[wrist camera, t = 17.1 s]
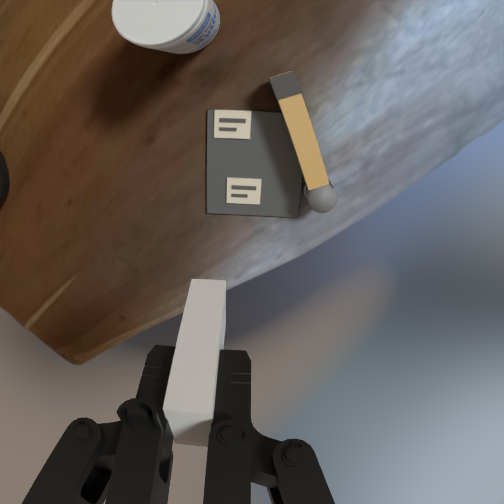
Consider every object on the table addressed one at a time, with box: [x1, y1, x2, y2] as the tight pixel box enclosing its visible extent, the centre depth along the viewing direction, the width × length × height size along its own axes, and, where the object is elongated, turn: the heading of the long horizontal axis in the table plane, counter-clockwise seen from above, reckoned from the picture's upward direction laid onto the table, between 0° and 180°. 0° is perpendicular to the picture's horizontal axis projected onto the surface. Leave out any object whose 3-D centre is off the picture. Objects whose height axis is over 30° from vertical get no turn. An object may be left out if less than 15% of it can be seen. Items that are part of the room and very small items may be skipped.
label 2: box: [227, 177, 262, 205], centre depth 48 cm, size 5×4×1 cm
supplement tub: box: [112, 0, 220, 54], centre depth 28 cm, size 10×10×15 cm
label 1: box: [214, 110, 251, 139], centre depth 42 cm, size 5×4×1 cm
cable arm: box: [268, 71, 337, 213], centre depth 41 cm, size 20×4×3 cm, turn 20°
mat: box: [207, 109, 303, 218], centre depth 46 cm, size 14×16×1 cm
